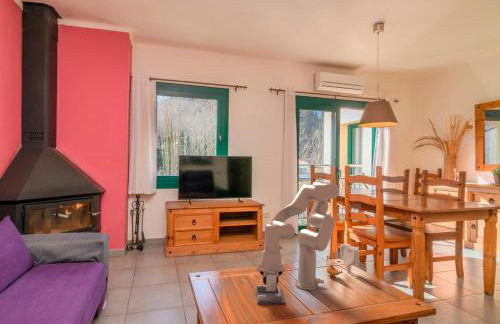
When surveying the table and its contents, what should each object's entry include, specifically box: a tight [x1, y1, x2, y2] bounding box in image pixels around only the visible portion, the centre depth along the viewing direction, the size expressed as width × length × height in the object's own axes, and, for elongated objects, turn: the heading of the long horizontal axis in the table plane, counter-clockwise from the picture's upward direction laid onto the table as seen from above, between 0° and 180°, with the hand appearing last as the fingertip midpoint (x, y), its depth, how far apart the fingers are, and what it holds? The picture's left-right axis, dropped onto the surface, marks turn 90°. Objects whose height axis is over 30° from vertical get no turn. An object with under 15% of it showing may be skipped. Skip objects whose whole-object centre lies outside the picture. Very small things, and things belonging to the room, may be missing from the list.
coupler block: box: [265, 272, 277, 291], centre depth 148 cm, size 5×7×8 cm
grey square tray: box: [255, 284, 287, 306], centre depth 148 cm, size 14×14×4 cm
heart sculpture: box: [339, 243, 360, 277], centre depth 182 cm, size 16×5×18 cm, turn 14°
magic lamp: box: [325, 255, 344, 279], centre depth 175 cm, size 7×18×11 cm, turn 15°
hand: (270, 283), depth 148 cm, fingers closed on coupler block, 5 cm apart
